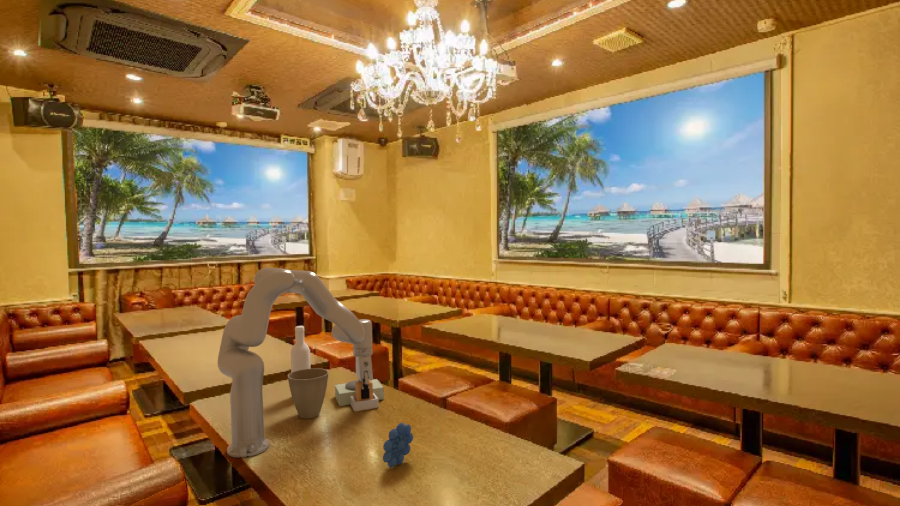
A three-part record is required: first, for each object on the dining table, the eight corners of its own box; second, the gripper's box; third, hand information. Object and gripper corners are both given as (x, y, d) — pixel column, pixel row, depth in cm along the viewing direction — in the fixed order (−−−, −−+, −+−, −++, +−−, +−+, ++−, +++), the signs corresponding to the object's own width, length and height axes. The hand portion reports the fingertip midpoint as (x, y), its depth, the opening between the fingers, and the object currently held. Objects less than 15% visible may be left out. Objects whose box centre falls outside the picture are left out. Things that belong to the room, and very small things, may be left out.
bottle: (291, 395, 198) (288, 325, 197) (310, 392, 202) (307, 324, 200) (293, 401, 191) (290, 329, 190) (312, 398, 194) (310, 327, 193)
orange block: (372, 400, 183) (372, 383, 183) (357, 402, 181) (357, 385, 181) (370, 396, 187) (370, 379, 187) (355, 399, 185) (355, 381, 185)
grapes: (402, 452, 144) (402, 414, 144) (418, 459, 140) (417, 420, 140) (374, 467, 136) (373, 427, 135) (389, 474, 131) (388, 433, 131)
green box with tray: (389, 405, 184) (388, 391, 184) (343, 413, 177) (342, 398, 177) (377, 390, 203) (376, 377, 202) (335, 396, 196) (334, 383, 196)
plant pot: (332, 418, 172) (330, 376, 171) (290, 425, 167) (288, 381, 166) (327, 405, 186) (326, 366, 185) (288, 411, 181) (286, 370, 180)
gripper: (377, 354, 177) (378, 401, 178) (367, 345, 193) (368, 388, 193) (357, 357, 174) (358, 405, 175) (349, 347, 190) (350, 391, 191)
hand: (363, 395), depth 184 cm, fingers closed on orange block, 4 cm apart
